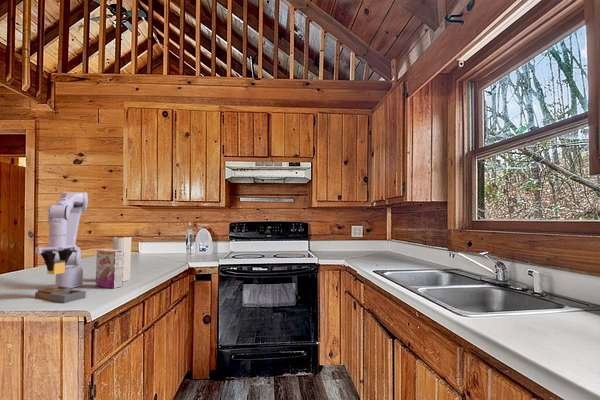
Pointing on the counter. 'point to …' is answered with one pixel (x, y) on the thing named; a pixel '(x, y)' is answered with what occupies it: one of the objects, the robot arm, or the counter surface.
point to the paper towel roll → (125, 246)
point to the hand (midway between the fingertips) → (56, 269)
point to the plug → (58, 267)
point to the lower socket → (67, 295)
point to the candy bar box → (109, 268)
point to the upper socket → (49, 292)
